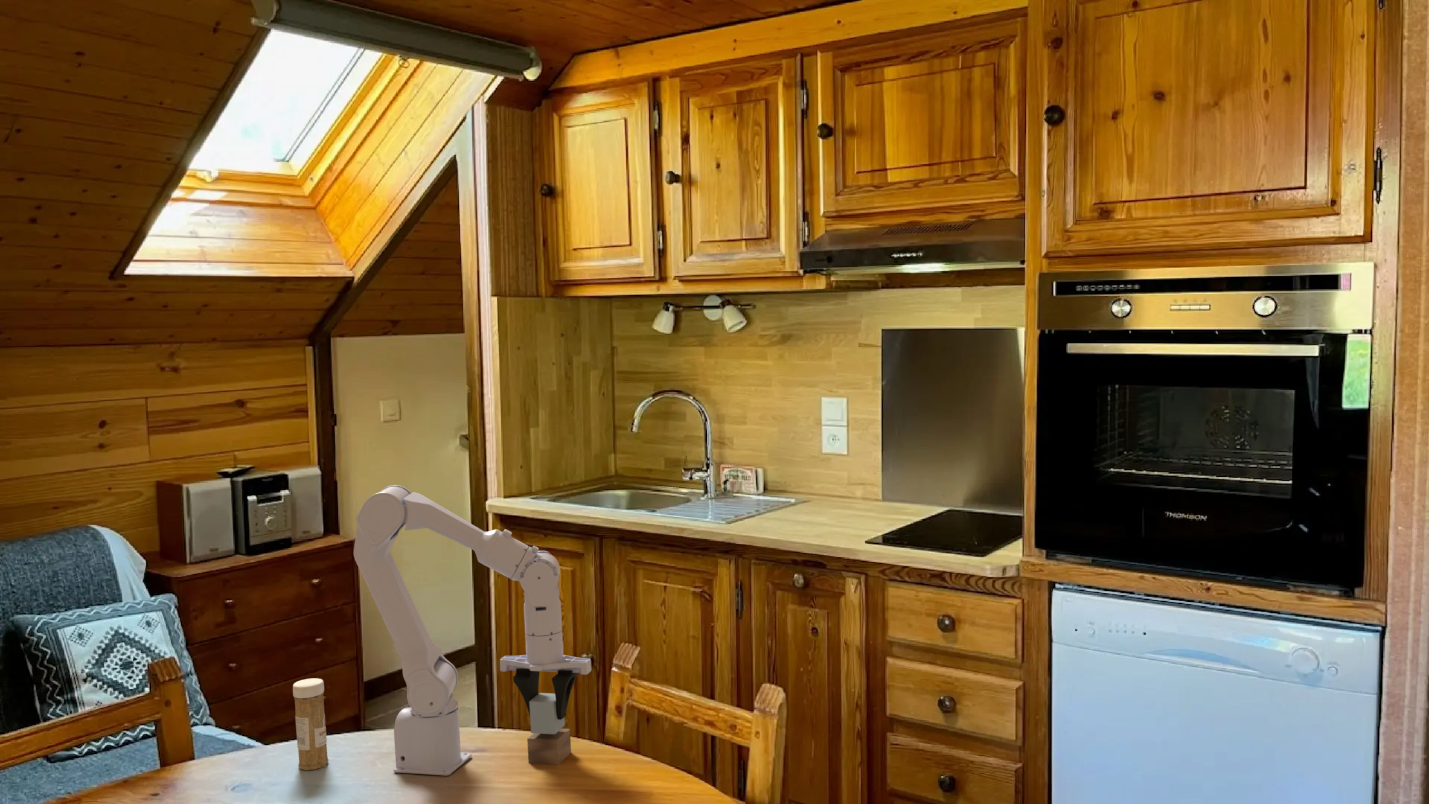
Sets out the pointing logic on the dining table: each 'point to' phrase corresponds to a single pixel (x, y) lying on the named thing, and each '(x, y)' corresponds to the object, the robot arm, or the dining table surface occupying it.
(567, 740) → the walnut block
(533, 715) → the slate block
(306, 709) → the sprinkles bottle
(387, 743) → the dining table surface
